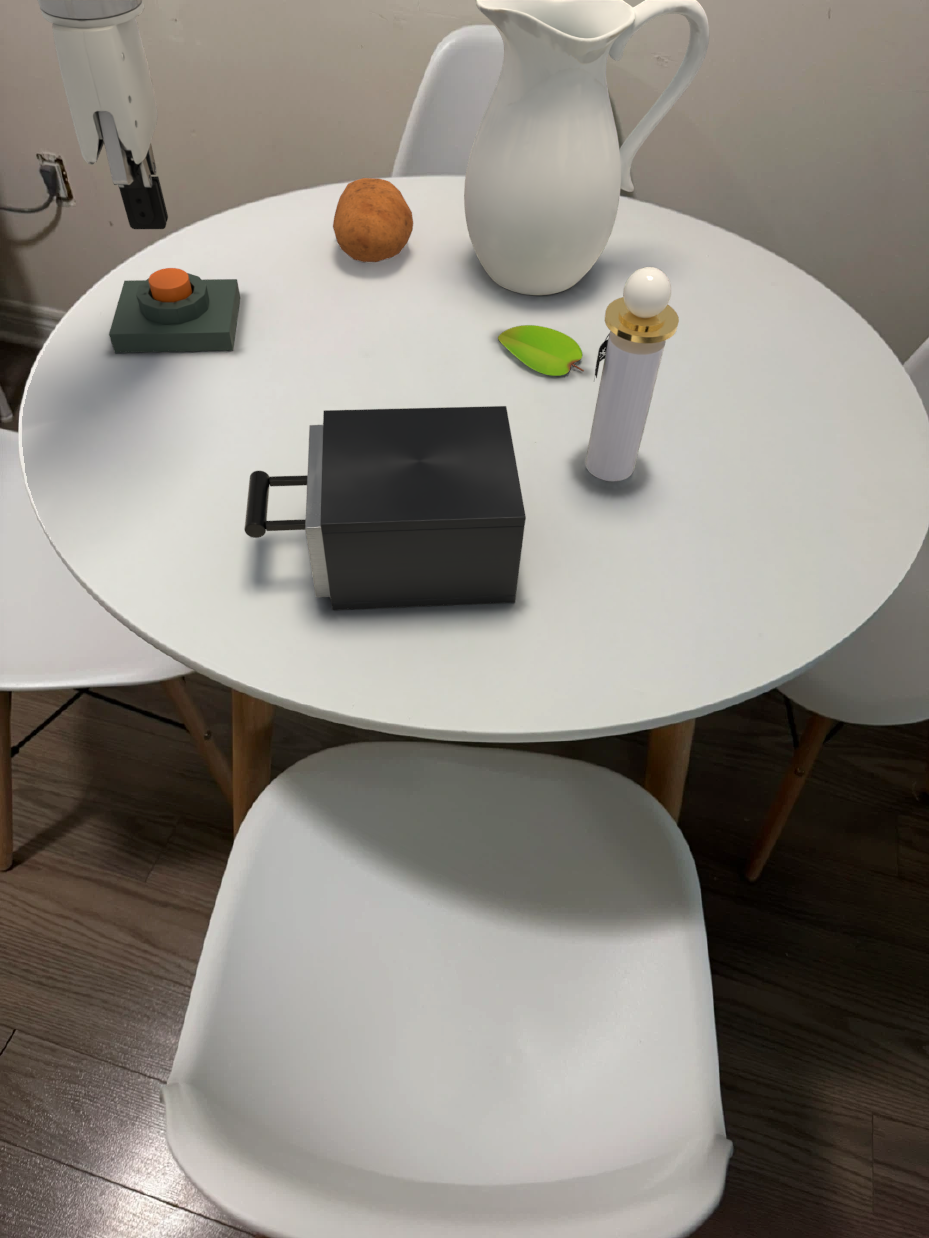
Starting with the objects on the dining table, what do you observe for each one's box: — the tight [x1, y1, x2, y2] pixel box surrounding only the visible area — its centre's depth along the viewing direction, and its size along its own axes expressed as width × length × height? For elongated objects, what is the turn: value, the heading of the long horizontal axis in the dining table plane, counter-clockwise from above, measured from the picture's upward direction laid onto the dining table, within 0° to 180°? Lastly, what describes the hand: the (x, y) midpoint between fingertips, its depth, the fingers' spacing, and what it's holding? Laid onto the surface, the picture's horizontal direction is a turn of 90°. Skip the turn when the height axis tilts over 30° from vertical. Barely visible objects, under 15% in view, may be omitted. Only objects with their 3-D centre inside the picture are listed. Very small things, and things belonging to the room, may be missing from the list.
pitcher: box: [463, 0, 710, 296], centre depth 92 cm, size 24×17×28 cm
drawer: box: [243, 424, 330, 598], centre depth 71 cm, size 19×12×8 cm, turn 95°
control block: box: [108, 272, 241, 354], centre depth 92 cm, size 12×10×4 cm
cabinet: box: [321, 405, 527, 611], centre depth 71 cm, size 15×13×10 cm
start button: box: [148, 267, 192, 302], centre depth 90 cm, size 4×4×2 cm
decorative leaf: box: [497, 324, 585, 377], centre depth 92 cm, size 8×9×1 cm
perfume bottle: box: [584, 266, 680, 482], centre depth 74 cm, size 6×6×20 cm
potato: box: [332, 177, 414, 263], centre depth 101 cm, size 9×11×8 cm
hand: (149, 224), depth 80 cm, fingers closed
